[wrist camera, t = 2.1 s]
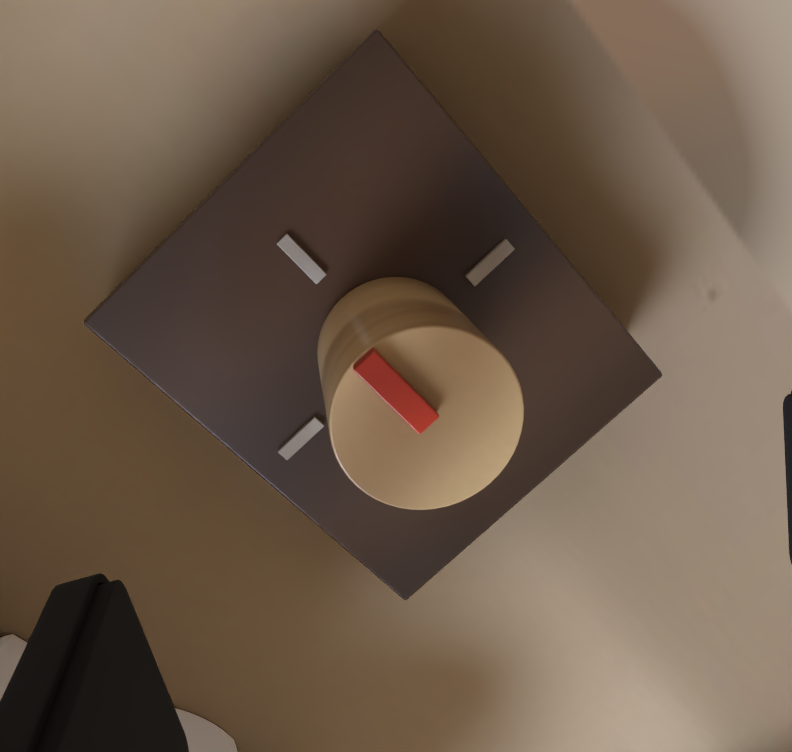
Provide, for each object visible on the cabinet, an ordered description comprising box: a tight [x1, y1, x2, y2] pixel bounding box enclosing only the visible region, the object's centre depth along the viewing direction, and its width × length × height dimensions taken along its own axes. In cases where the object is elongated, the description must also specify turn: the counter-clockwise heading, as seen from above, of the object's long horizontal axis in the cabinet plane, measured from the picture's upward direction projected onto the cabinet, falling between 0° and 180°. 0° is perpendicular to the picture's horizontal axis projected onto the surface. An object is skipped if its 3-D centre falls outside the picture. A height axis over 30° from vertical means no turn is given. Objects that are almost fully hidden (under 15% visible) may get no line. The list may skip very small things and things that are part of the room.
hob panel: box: [83, 29, 662, 600], centre depth 21 cm, size 12×10×3 cm
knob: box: [317, 277, 524, 510], centre depth 17 cm, size 4×4×5 cm
